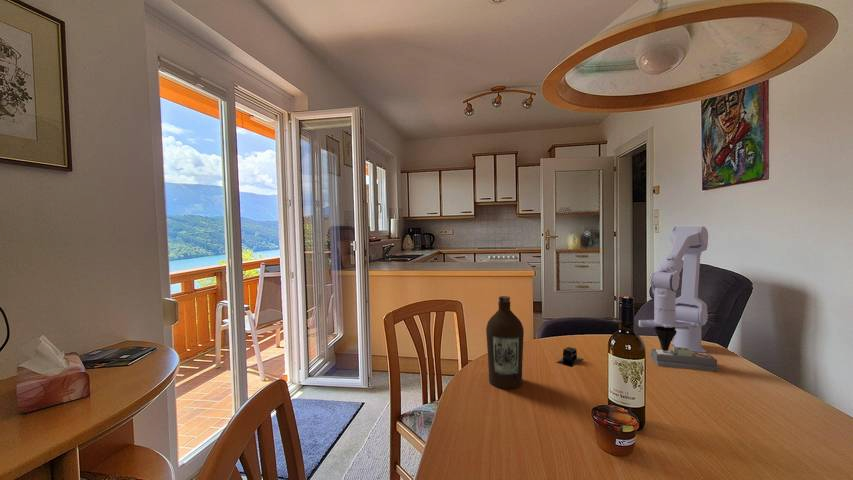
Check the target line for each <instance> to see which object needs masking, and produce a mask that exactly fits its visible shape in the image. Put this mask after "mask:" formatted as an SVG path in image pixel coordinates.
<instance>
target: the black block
mask: <svg viewBox="0 0 853 480" xmlns="http://www.w3.org/2000/svg"><path fill="white" fill-rule="evenodd" d="M577 351H578V350H577V348H576V347H575V348H574V347H570V346H567V347H565V348H563V351H562V358H561V359H559V360H558V361H556V364H559V365H562V366H566V367H569V368H573V367H574V366H576V365H578V364H580V363H581V362H583V361H584V360H585V359H584V358H581V357H578V352H577Z"/></svg>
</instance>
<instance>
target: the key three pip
mask: <svg viewBox="0 0 853 480" xmlns="http://www.w3.org/2000/svg"><path fill="white" fill-rule="evenodd" d="M692 352H693V355H694V356H695V357H697V358H709V359H712V358H711V357H710V356H709V355H707V354H706V353H707V352H700V353H694V351H692Z"/></svg>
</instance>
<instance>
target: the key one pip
mask: <svg viewBox="0 0 853 480" xmlns="http://www.w3.org/2000/svg"><path fill="white" fill-rule="evenodd" d="M669 350H670V349H668V351H663V350H656V353H657V354H661V355H673V356H674V354H673V353H672V352H671V351H669Z"/></svg>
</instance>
